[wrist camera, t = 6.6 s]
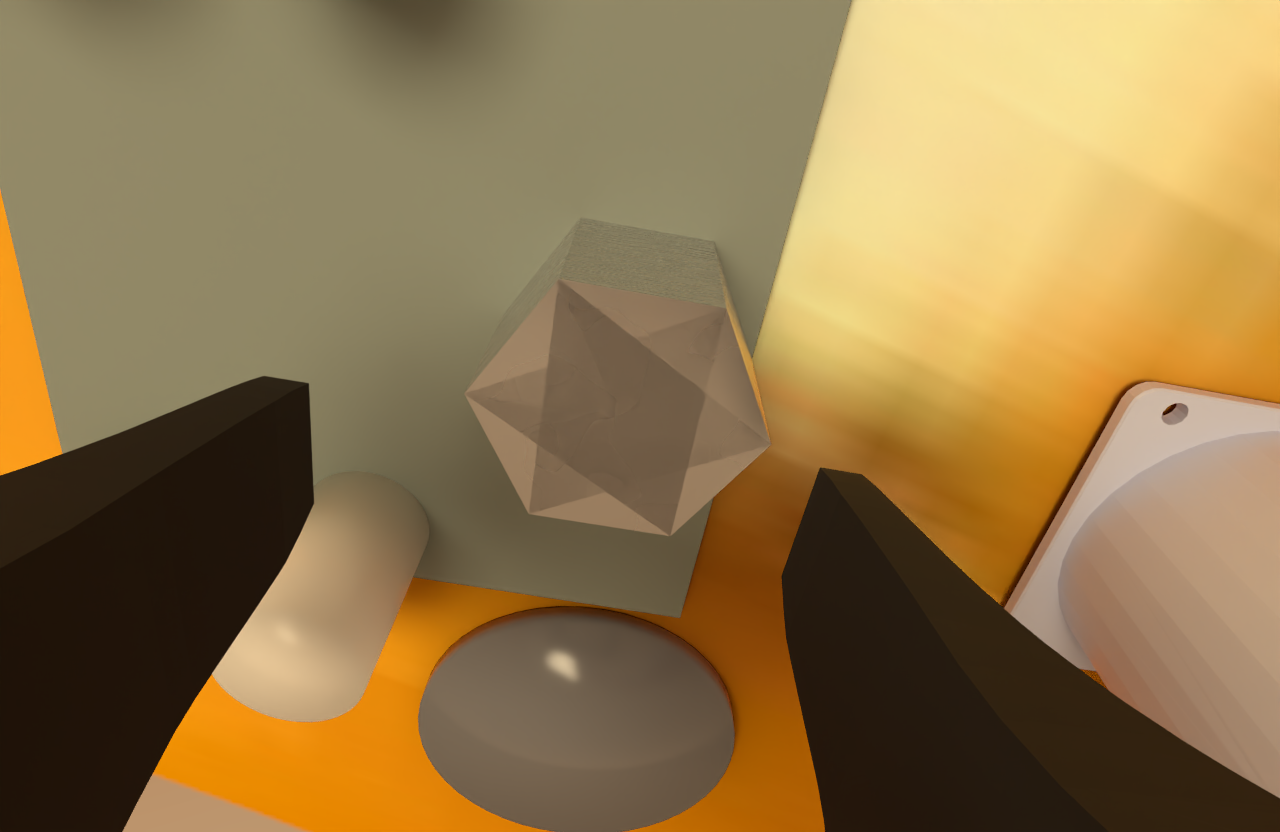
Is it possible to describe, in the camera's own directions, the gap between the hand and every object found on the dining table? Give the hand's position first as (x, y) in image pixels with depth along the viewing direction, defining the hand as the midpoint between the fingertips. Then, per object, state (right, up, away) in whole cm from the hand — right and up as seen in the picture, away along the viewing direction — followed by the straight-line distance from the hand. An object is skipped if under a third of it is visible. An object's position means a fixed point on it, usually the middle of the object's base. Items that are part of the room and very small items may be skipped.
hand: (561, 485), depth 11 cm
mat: (-4, +4, +5) cm, 7 cm away
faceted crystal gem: (+1, +3, +5) cm, 6 cm away
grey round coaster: (-1, -8, +11) cm, 14 cm away
